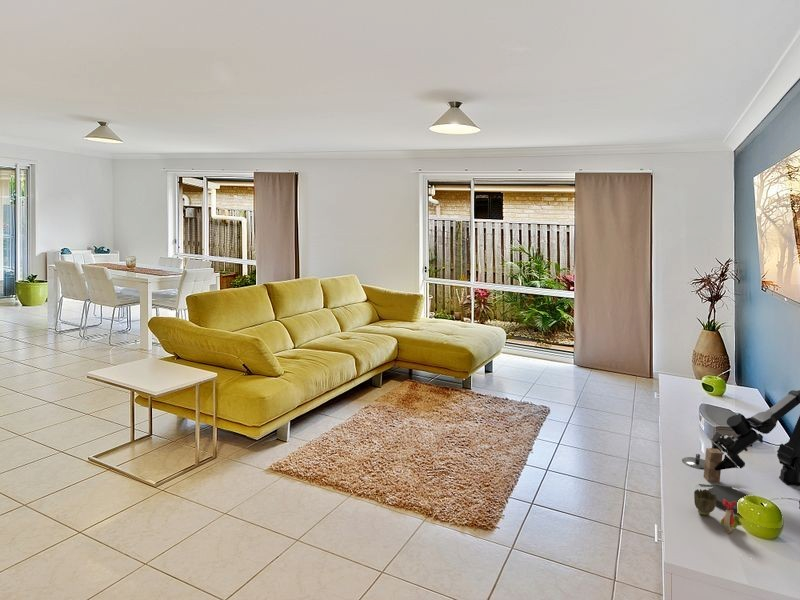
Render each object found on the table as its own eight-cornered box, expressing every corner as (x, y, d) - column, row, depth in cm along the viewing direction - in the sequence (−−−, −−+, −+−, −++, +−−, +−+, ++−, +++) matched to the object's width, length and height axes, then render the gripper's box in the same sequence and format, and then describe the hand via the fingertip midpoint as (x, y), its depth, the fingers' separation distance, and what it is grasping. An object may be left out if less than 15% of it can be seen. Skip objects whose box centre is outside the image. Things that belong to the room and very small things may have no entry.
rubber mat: (721, 477, 222) (721, 476, 222) (732, 489, 213) (732, 487, 213) (691, 474, 224) (691, 473, 224) (700, 486, 215) (700, 485, 214)
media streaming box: (699, 497, 206) (700, 490, 206) (724, 490, 212) (725, 483, 212) (736, 517, 193) (737, 509, 193) (762, 508, 199) (762, 501, 199)
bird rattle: (738, 541, 181) (742, 521, 187) (740, 519, 176) (744, 499, 182) (717, 535, 185) (722, 515, 191) (718, 513, 180) (723, 493, 186)
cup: (687, 510, 196) (689, 490, 195) (702, 507, 199) (704, 487, 198) (705, 521, 189) (707, 500, 188) (720, 517, 192) (722, 497, 191)
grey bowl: (706, 460, 238) (707, 449, 237) (717, 472, 226) (718, 461, 226) (677, 458, 240) (678, 447, 239) (687, 470, 228) (688, 459, 227)
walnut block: (714, 478, 220) (717, 448, 218) (719, 483, 216) (722, 453, 214) (703, 477, 221) (706, 448, 219) (707, 482, 217) (710, 452, 215)
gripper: (718, 418, 223) (688, 440, 227) (739, 435, 205) (706, 460, 208) (737, 437, 223) (706, 459, 227) (759, 456, 205) (725, 480, 208)
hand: (710, 464), depth 218 cm, fingers open, 9 cm apart
